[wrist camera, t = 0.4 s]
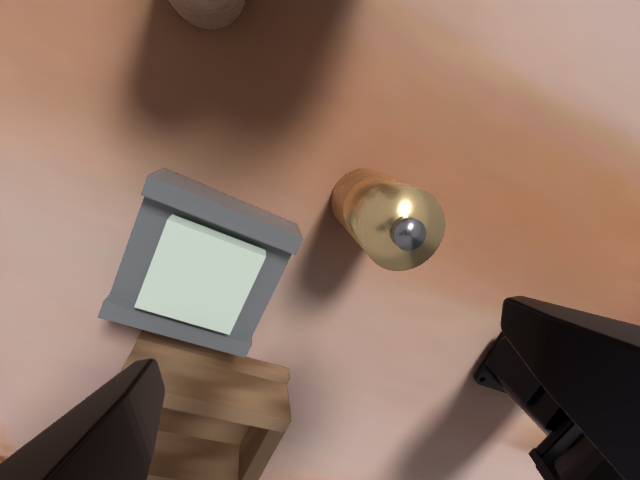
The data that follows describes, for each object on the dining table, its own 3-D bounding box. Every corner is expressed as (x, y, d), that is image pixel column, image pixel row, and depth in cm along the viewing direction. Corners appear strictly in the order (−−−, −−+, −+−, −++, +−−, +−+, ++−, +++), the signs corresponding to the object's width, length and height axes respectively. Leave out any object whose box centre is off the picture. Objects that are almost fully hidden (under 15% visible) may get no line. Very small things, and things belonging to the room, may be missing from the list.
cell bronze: (400, 184, 21) (468, 212, 14) (372, 237, 21) (423, 287, 15) (348, 158, 19) (396, 175, 13) (320, 215, 20) (351, 258, 14)
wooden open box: (288, 368, 24) (294, 414, 20) (245, 450, 25) (243, 506, 22) (143, 328, 21) (118, 373, 17) (105, 424, 22) (75, 484, 19)
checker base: (297, 224, 20) (303, 238, 18) (246, 330, 22) (245, 357, 19) (163, 168, 18) (148, 175, 15) (118, 292, 20) (97, 317, 17)
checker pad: (265, 249, 18) (266, 256, 17) (230, 324, 19) (229, 334, 18) (172, 214, 16) (167, 219, 15) (140, 297, 18) (134, 307, 17)
